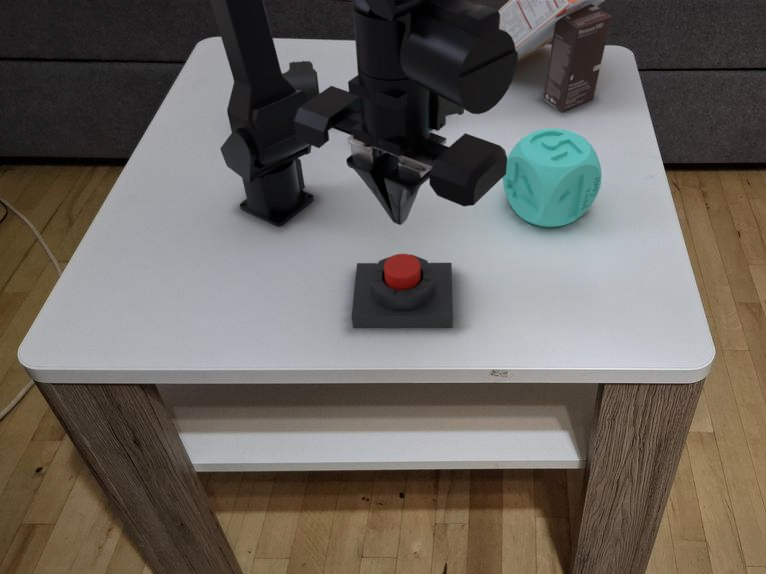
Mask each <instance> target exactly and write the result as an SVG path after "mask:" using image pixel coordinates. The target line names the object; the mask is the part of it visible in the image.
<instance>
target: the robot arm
mask: <svg viewBox="0 0 766 574" xmlns="http://www.w3.org/2000/svg"><path fill="white" fill-rule="evenodd" d="M209 2H210V4H211V7H212V11H213V14H214V17H215V21H216V24H217V28H218V31H219V34H220V38H221V41H222V45H223V47H224V52H225V55H226V58H227V61H228V65H229V68H230V72H231V75H232V79H233V84H232V89H231V91H230V96H229V101H228V105H227V108H226V113H227V117H228V121H229V126H230V131H231V133H230V135H229V136H228V137H227V139H226V140H225V141H224V143H223V144H222V146H221V147H220V149H219V150H220V153H221V155H222V157H223V160H224V163H225V165H226V167H227V168H228V169H230V170H231V171H232V172H234V173H235V174H237V175H238V176H239V177H241V179H242V184H243V188H244V192H245V199H244V200H243V201H242V202H240V203H239V209H240V210H241V211H243V212H245V213H248V214H250V215H252V216H254V217H257V218H258V219H261V220H262V221H265V222H267V223H269V224H272V225H273V226H276V227H281V226H283V225H284V224H286V223H287V222H288V221H290V220H291V219H292V218H294V217H295V216H296V215H297V214H298V213H300V212H301V211H302V210H303V209H305V208H306V207H308V206H309V205H310V204H311V203H312V202H313V201H314V200H315V196H314V194H312V193H309V192H308V191H305V189H306V186H305V180H304V173H303V165H302V160H301V159H300V158H301V157H304V156H307V155H309V154H311V152H312V146H313V147H315V148H318V149H320V148H322V147H323V146H324V145H326V144H327V143H328V142H329V141H330V136H329V134H330V133H329V131H330V130H331V129H334V130H335V131H336V130H337V131H338V132H341V133H344V134H347V135H350V136H348V137H347V139H346V140H347V144H349V145H350V150H351V155H349V156H347V158H346V165H347V167H348V168H350V169H352V170H353V171H354V172H355V173H356V174H357V176H358V177H360V179H361V180H362V181H363V183H364V184H365V185H366V187H368V189H369V190H370V191H371V193H372V194H373V196H374V197H375V198H376V199H377V201H378V203H379V204H380V205H381V207H382V208H383V209H384V211H385V213H386V215H388V217H389V218H390V220H391V221H392V223H394V224H397V225H399V226H402V225H403V224H404V223H406V221H407V220H408V217H409V215H410V212H411V210H412V207H413V205H414V202H415V200H416V197H417V196H418V193H419V191H420V188H421V186H423V185H424V184H425V182H427V181H429V186H430V187H431V190H433V192H434V193H435V195H436V196H437V197H439V198H442V199H445V200H447V201H449V202H451V203H454V204H457V205H459V206H462V207H471V206H475V205H476V204H477V203H478V202H479V201H480V200H481V199H483V197H484V196H485V195H486V194H487V193H489V191H490V190H492V188H493V187H494V186H495V185H497V183H499V181H501V180H502V179H503V177H504V176H505V175H506V167H507V157H508V155H507V152H506V149H504V148H503V146H501V145H500V144H498V143H494V142H492V141H488V140H486V139H483V138H480V137H477V136H474V135H472V134H469V133H466V132H465V133H463V134H462V135H461V136H460V137H459V138H458V139H456V140H455V141H454V142H453V143H452V144H451V145H450V146H447V145H446V144H447V137H445V136H442V135H439V134H436V133H434V132H433V130H434V131H437V132H439V131H440V130H441V129H442V128H444V127H445V126H446V124H447V117H448V116H452V115H458V116H462V115H464V113H465V111H466V112H469V113H470V114H472V115H481V114H485V113H487V112H489V111H491V110H492V109H493V108H494V107H496V106H497V105H498V104H499V102H500V101H501V100H502V99H504V96H505V95H506V93H507V92H508V90H509V88H510V86H511V84H512V82H513V81H514V77H515V75H516V71H517V67H518V61H519V60H518V52H517V51H516V49H515V44H514V41H513V39H512V37H511V36H510V35H509V34H508V33H507V32H506V31H504V30H501V29H499V24H500V13H499V10H497V9H496V8H493V7H490V6H488V5H484V4H482V5H481V4H477V3H474V2H471V1H469V0H351V3H352V15H353V28H354V40H355V52H356V54H355V55H356V67H357V68H356V69H357V75H355V76H354V77H353V78H351V79H349V80H348V81H347V84H348V85H347V86H348V91H347V90H345V89H342V88H339V87H336V86H333V85H330V86H328V87H327V88H325V89H324V90H322V91H321V92H319V93H320V94H318V95H317V96H315V97H314V98H312V99H311V100H309V101H308V97H307V96H306V94H305V93H304V92H303V91H302V90H297V89H296V88H295V87H294V86H293V85H292V84H291V83H290V82H289V81H288V80H287V79H286V78H285V77H284V76H283V74H282V73H283V72H282V69H281V65H280V61H279V57H278V53H277V49H276V45H275V41H274V38H273V33H272V28H271V26H270V22H269V21H270V20H269V17H268V15H267V11H266V6H265V2H264V0H209Z"/></svg>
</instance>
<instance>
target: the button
mask: <svg viewBox="0 0 766 574" xmlns="http://www.w3.org/2000/svg"><path fill="white" fill-rule="evenodd" d="M412 255H413V254H410V253H396V254H393V255H390V256H391V257H390V256H389V257H390V258H388V257H387V258H388V259H387V260H386V262H385V264H384V274H385V282H386V283H387V285H388V286H389V287H391V288H393V289H396V290H409V289H411V288H414V287H415V286H417V285H418V283H419V282H420V279H421V273H420V262H419V260H418V259H417V258H416V257H414V256H415V255H414V256H412Z"/></svg>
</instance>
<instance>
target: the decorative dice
mask: <svg viewBox="0 0 766 574" xmlns="http://www.w3.org/2000/svg"><path fill="white" fill-rule="evenodd" d="M601 184H602V167H601V162H600V159H599V156H598V155H597V152H596V150H595V148H594V147H593V146H592V143H590V142H589V141H588V140H587V139H586V138H585V137H584V136H582V135H581V134H579V133H577V132H574V131H571V130H568V129H563V128H543V129H538V130H535V131H532V132H530V133H529V134H527V135H525V136H524V137H523V138H521V139H520V140H519V141H518V142H517V143H516V144H515V145H514V146H513V148H512V149H511V151H510V152H509V154H508V155H507V167H506V175H505V176H504V177H503V178H502V186H503V189H504V192H505V196H506V198H507V199H506V200H507V201H508V203H509V205H510V206H511V208H512V210H513V211H514V212H515V213H516V215H517V216H519V218H521V219H522V220H524V221H525V222H527V223H529V224H532V225H534V226H538V227H542V228H543V227H545V228H557V227H562V226H566V225H569V224H572V223H573V222H575V221H576V220H578V219H579V218H581V216H583V215H584V214H586V212H587V211H588V210H589V208H590V207H591V206H592V204H593V203H594V202H595V200H596V198H597V196H598V194H599V192H600V189H601Z"/></svg>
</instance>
